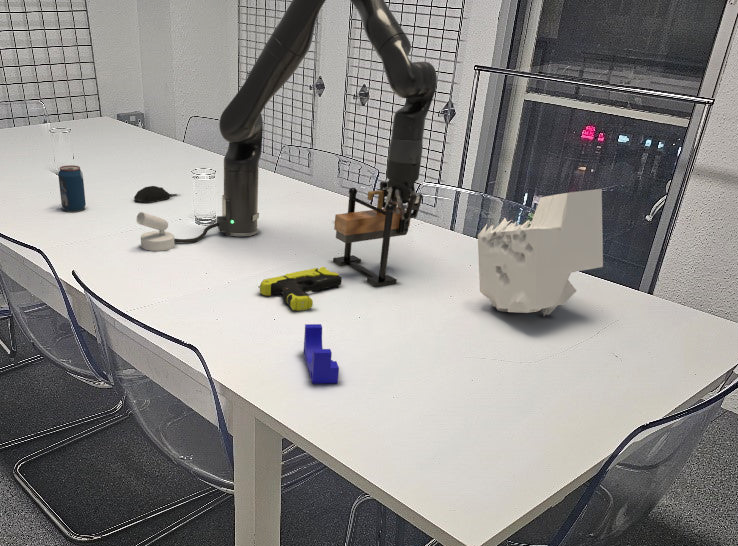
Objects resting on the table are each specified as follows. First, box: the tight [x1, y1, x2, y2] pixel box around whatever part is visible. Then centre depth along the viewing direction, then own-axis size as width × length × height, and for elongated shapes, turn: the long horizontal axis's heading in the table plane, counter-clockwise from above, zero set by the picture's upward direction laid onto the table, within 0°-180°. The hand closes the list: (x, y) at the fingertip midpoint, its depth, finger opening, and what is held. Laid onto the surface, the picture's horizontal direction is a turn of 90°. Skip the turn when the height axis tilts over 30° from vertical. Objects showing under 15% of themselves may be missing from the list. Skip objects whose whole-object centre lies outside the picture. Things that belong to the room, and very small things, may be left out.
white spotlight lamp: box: [135, 211, 175, 252], centre depth 191 cm, size 9×10×10 cm
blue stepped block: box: [302, 323, 340, 385], centre depth 135 cm, size 12×4×6 cm, turn 5°
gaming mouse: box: [133, 185, 177, 203], centre depth 232 cm, size 6×15×4 cm, turn 128°
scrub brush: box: [333, 189, 411, 244], centre depth 174 cm, size 18×5×11 cm, turn 117°
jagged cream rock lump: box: [477, 188, 604, 317], centre depth 157 cm, size 20×16×25 cm
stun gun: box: [257, 266, 343, 312], centre depth 167 cm, size 3×19×15 cm
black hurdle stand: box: [332, 187, 398, 288], centre depth 176 cm, size 6×19×18 cm, turn 27°
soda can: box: [57, 164, 87, 213], centre depth 217 cm, size 7×7×12 cm
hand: (395, 230), depth 179 cm, fingers closed on scrub brush, 5 cm apart
